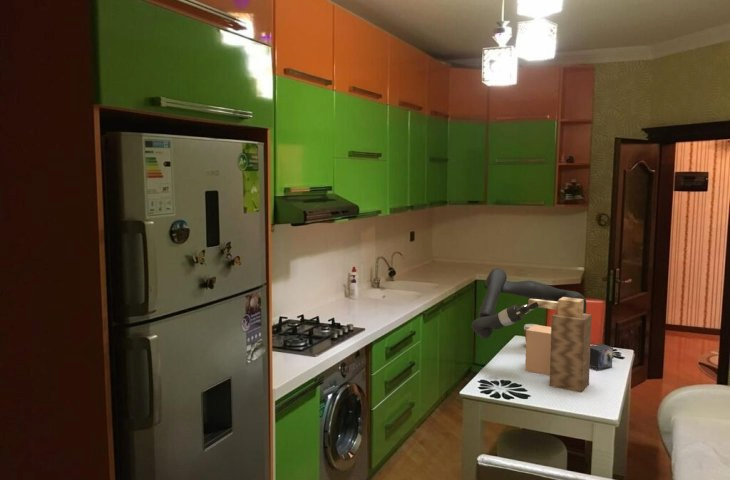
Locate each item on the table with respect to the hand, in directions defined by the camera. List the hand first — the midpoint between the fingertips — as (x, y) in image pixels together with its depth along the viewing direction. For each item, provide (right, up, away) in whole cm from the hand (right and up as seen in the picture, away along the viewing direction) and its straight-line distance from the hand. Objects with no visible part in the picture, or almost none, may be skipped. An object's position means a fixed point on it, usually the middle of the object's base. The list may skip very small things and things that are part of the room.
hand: (540, 302), depth 261 cm
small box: (+35, -34, +19) cm, 53 cm away
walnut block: (+12, -37, -4) cm, 39 cm away
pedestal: (+6, -35, +17) cm, 39 cm away
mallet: (+5, -5, -3) cm, 8 cm away
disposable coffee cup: (+11, -31, +53) cm, 63 cm away
